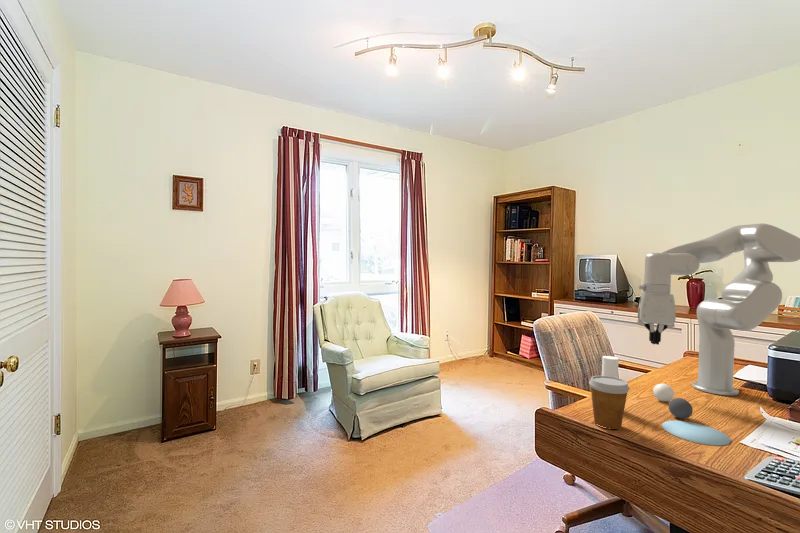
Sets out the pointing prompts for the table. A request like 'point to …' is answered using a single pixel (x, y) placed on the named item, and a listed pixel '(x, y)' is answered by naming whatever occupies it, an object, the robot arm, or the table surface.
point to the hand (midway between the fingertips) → (654, 343)
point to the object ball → (680, 408)
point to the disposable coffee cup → (608, 400)
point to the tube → (610, 366)
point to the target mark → (696, 433)
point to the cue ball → (663, 392)
